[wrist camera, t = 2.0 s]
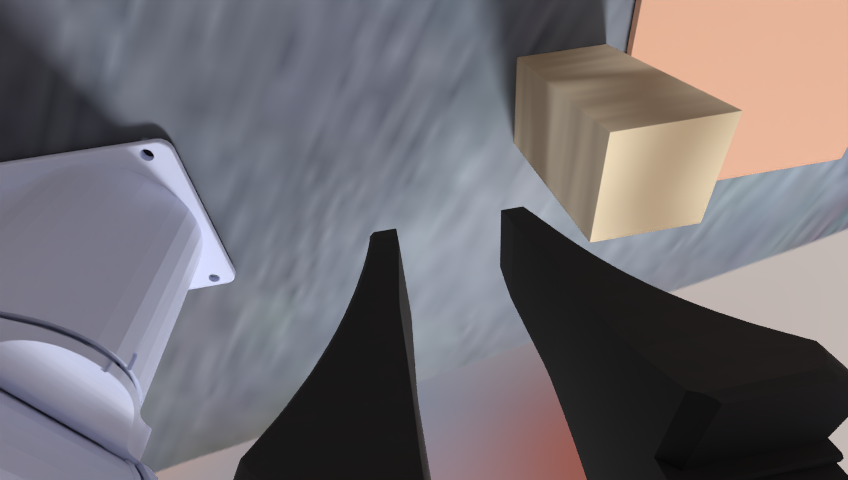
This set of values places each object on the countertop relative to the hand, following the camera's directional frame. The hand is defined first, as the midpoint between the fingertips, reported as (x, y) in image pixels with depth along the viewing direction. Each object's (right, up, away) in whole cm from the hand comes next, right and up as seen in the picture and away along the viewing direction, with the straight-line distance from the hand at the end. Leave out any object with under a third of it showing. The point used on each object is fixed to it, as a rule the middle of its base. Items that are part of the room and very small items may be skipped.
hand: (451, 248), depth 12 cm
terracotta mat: (+15, +9, +9) cm, 19 cm away
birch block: (+5, +7, +8) cm, 12 cm away
